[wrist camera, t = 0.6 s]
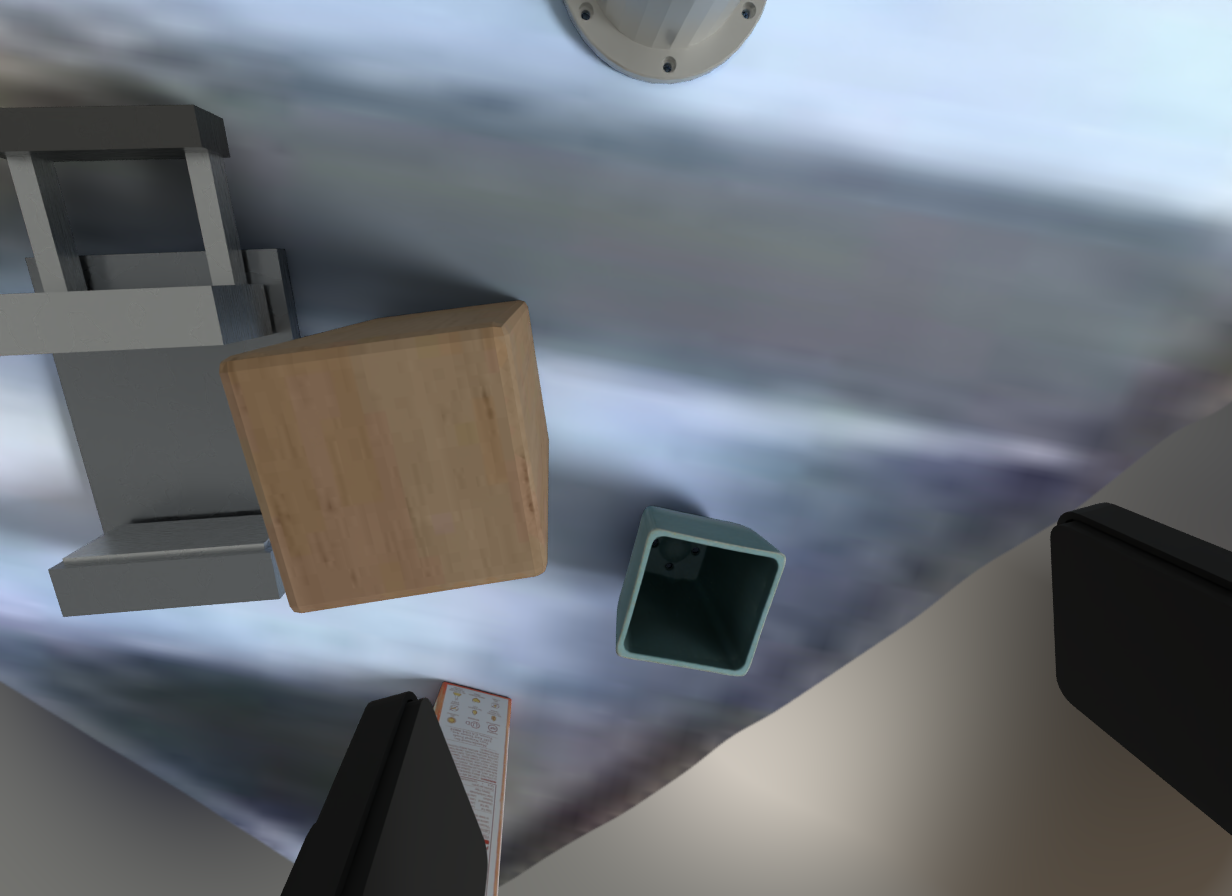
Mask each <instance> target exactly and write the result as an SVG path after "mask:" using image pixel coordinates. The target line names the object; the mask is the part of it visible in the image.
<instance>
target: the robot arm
mask: <svg viewBox="0 0 1232 896" xmlns="http://www.w3.org/2000/svg"><path fill="white" fill-rule="evenodd" d="M563 1H564V3H565V6H566V8H567V11H568V13H569V16H570V18H571V21H572V22H573V24H574V26H575V27H576V29H577V31H578V32H579V34H580V35H581V37H582V39H583V40H584V41H585V42H586V44H587V45H588V46H589V47H590V48H591V49H592V50H593V51H594V53H595V54H596V55H597V56H598V57H599V58H601V59H602V60H603V61H605V62H606V63H607V64H608V65H610V66H611V67H612V68H614V69H615V70H617V71H619V72H621V73H623V74H625V75H627V76H629V77H631V78H634V79H638V80H641V81H645V82H649V83H658V84H674V83H680V82H686V81H691V80H693V79H696V78H698V77H701V76H703V75H706V74H708V73H710V72H711V71H713V70H714V69H716V68H717V67H719V66H720V65H722V64H723V63H725V62H726V61H727V60H728V59H729V58H730V57H731V56H732V55H733V54H734V53H735V52H736V51H737V50H738V49H739V48H740V47H741V46H742V44H743V43H744V42H745V40H746V39H747V38H748V36H749V35H750V34H751V33H752V31H753V29H754V27H755V26H756V24H757V22H758V21H759V19H760V17H761V15H762V13H763V10H764V7H765V4H766V1H767V0H563ZM742 12H745V13H747V15H748V19H746V18H744V17H743V15H742ZM583 13H587V14H588V15H589V17H590V18H589V20H584V19H582V17H581V15H582V14H583ZM664 65H668V66H669V67H670V69H671V70H670V72H668V73H667V72H665V71H664V70H663V66H664ZM1050 538H1051V539H1050V541H1051V564H1052V588H1053V610H1054V635H1055V656H1056V677H1057V682H1058V685H1059V688H1060V689H1061V691H1062V693H1063V695H1064V696H1065V697H1066V699H1067V700H1068V701H1069V702H1070V703H1071V704H1072V705H1073V706H1074V707H1076V708H1077V709H1078V710H1079V711H1081V712H1082V713H1083V714H1084V715H1085V716H1087V717H1088V718H1089V719H1090V720H1092V721H1093V722H1094V723H1095V724H1096V725H1098V726H1099V727H1100V728H1101V729H1102V730H1104V731H1105V732H1106V733H1107V734H1108V735H1110V736H1111V737H1112V738H1113V739H1115V740H1116V741H1117V742H1118V743H1120V744H1121V745H1122V746H1123V747H1125V748H1126V749H1127V750H1128V751H1129V752H1130V753H1132V754H1133V755H1134V756H1135V757H1137V758H1138V759H1139V760H1140V761H1142V762H1143V763H1144V764H1145V765H1146V766H1148V767H1149V768H1150V769H1151V770H1152V771H1154V772H1155V773H1156V774H1157V775H1159V776H1160V777H1161V778H1162V779H1163V780H1165V781H1166V782H1167V783H1168V784H1170V785H1171V786H1172V787H1173V788H1175V789H1176V790H1177V791H1178V792H1179V793H1180V794H1182V795H1183V796H1184V797H1185V798H1187V799H1188V800H1189V801H1190V802H1191V803H1193V804H1194V805H1195V806H1196V807H1198V808H1199V809H1200V810H1201V811H1202V812H1204V813H1205V814H1206V815H1208V816H1209V817H1210V818H1211V819H1212V820H1214V821H1215V822H1216V823H1217V824H1218V825H1220V826H1221V827H1222V828H1223V829H1224V830H1226V831H1227V832H1228V833H1230V834H1231V835H1232V552H1231V551H1228V550H1226V549H1223V548H1221V547H1219V546H1216V545H1214V544H1211V543H1208V542H1206V541H1204V540H1201V539H1199V538H1196V537H1194V536H1191V535H1189V534H1186V533H1184V532H1181V531H1179V530H1176V529H1174V528H1171V527H1169V526H1166V525H1164V524H1161V523H1159V522H1157V521H1154V520H1151V519H1149V518H1147V517H1144V516H1141V515H1139V514H1137V513H1134V512H1132V511H1129V510H1127V509H1124V508H1122V507H1119V506H1117V505H1114V504H1110V503H1099V504H1095V505H1092V506H1088V507H1084V508H1080V509H1077V510H1073V511H1069V512H1066V513H1064V514H1063V515H1061V516H1060V518H1059V520H1058V522H1057V526H1055V527H1054V528H1053V529H1052V531H1051V536H1050ZM487 870H488V857H487V849H486V844H485V840H484V837H483V835H482V832H481V829H480V827H479V824H478V822H477V819H476V817H475V814H474V811H473V809H472V806H471V804H470V801H469V799H468V796H467V794H466V791H465V788H464V786H463V783H462V781H461V778H460V776H459V773H458V770H457V768H456V765H455V763H454V760H453V758H452V755H451V753H450V750H449V747H448V745H447V742H446V740H445V737H444V735H443V732H442V729H441V727H440V724H439V722H438V719H437V717H436V714H435V711H434V709H433V706H432V704H431V702H430V701H429V700H428V699H427V698H422V699H419V700H418V699H417V697H416V696H415V694H414V693H413V692H410V691H408V692H404V693H401V694H397V695H393V696H390V697H386V698H382V699H379V700H375V701H372V702H370V703H368V705H367V707H366V708H365V710H364V713H363V715H362V717H361V720H360V722H359V724H358V727H357V729H356V731H355V734H354V736H353V738H352V741H351V743H350V745H349V748H348V750H347V752H346V755H345V757H344V759H343V762H342V764H341V766H340V769H339V771H338V773H337V776H336V778H335V780H334V783H333V785H332V787H331V790H330V792H329V794H328V797H327V799H326V801H325V804H324V806H323V808H322V811H321V813H320V815H319V818H318V820H317V822H316V823H315V824H314V825H313V826H312V828H311V829H310V831H309V833H308V834H307V836H306V838H305V841H304V843H303V845H302V847H301V850H300V852H299V854H298V857H297V859H296V861H295V863H294V866H293V868H292V870H291V873H290V875H289V877H288V880H287V882H286V884H285V887H284V889H283V891H282V893H281V896H485V889H486V880H487Z"/></svg>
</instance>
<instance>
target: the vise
mask: <svg viewBox="0 0 1232 896" xmlns="http://www.w3.org/2000/svg"><path fill="white" fill-rule="evenodd" d="M241 253H242V258H243V263H244V268H245V273H246V278H247V283H248V284H263V285H264V290H265V295H266V301H267V306H268V311H269V316H270V322H271V327H272V332H273V334H272V335H267V336H263V337H258V338H254V339H249V340H244V341H240V342H235V343H230V344H226V345H213V346H192V347H172V348H151V349H131V350H110V351H90V352H69V353H53V357H54V360H55V364H56V367H57V371H58V374H59V378H60V381H61V385H62V388H63V392H64V395H65V399H66V402H67V406H68V409H69V413H70V416H71V420H72V423H73V427H74V430H75V434H76V437H77V441H78V444H79V448H80V451H81V455H82V458H83V462H84V465H85V469H86V472H87V476H88V479H89V483H90V486H91V489H92V493H93V496H94V500H95V503H96V507H97V510H98V514H99V517H100V521H101V524H102V528H103V531H104V535H102V536H100V537H99V538H97V539H95V540H93V541H92V542H90V543H88V544H87V545H85V546H83V547H81V548H80V549H78V550H76V551H75V552H73V553H71V554H69V555H68V556H66V557H64V558H63V561H62V562H60V563H59V564H57V565H55V566H54V567H52V568H50V569H48V571H49V574H50V577H51V580H52V583H53V586H54V590H55V593H56V596H57V599H58V602H59V605H60V608H61V611H62V615H63V617H68V616H80V615H92V614H104V613H116V612H128V611H140V610H153V609H165V608H177V607H189V606H201V605H213V604H225V603H237V602H249V601H261V600H273V599H280V598H281V597H282V596H283V595H284V593H285V589H284V586H283V582H282V579H281V576H280V572H279V569H278V566H277V562H276V559H275V556H274V552H273V549H272V546H271V543H270V539H269V536H268V533H267V529H266V526H265V523H264V519H263V516H262V513H261V510H260V506H259V503H258V500H257V496H256V493H255V490H254V486H253V483H252V480H251V476H250V473H249V470H248V467H247V463H246V460H245V457H244V453H243V450H242V447H241V443H240V440H239V437H238V434H237V430H236V427H235V424H234V420H233V417H232V414H231V410H230V407H229V404H228V400H227V397H226V394H225V391H224V387H223V384H222V381H221V377H220V374H219V367H220V363H221V361H223V360H225V359H226V358H228V357H230V356H232V355H236V354H240V353H244V352H248V351H252V350H256V349H259V348H263V347H267V346H271V345H275V344H279V343H283V342H287V341H291V340H295V339H299V338H300V333H299V327H298V322H297V316H296V310H295V305H294V299H293V293H292V288H291V282H290V277H289V271H288V265H287V260H286V254H285V249H253V250H241ZM25 259H26V263H27V266H28V270H29V273H30V277H31V280H32V284H33V287H34V291H35V293H45V292H44V289H43V285H42V282H41V278H40V274H39V271H38V267H37V264H36V260H35V257H33V258H25ZM79 260H80V263H81V267H82V271H83V275H84V279H85V282H86V286H87V290H88V291H94V290H118V289H143V288H167V287H191V286H213V284H212V279H211V275H210V270H209V265H208V260H207V256H206V251H198V252H170V253H143V254H115V255H88V256H79Z"/></svg>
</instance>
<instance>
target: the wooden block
mask: <svg viewBox="0 0 1232 896" xmlns="http://www.w3.org/2000/svg"><path fill="white" fill-rule="evenodd" d="M219 374H220V377H221V381H222V384H223V387H224V391H225V394H226V397H227V400H228V404H229V407H230V410H231V414H232V417H233V420H234V424H235V427H236V430H237V434H238V437H239V440H240V443H241V447H242V450H243V453H244V457H245V460H246V463H247V467H248V470H249V473H250V476H251V480H252V483H253V486H254V490H255V493H256V496H257V500H258V503H259V506H260V510H261V513H262V516H263V519H264V523H265V526H266V529H267V533H268V536H269V539H270V543H271V546H272V549H273V552H274V556H275V559H276V562H277V566H278V569H279V572H280V576H281V579H282V582H283V586H284V589H285V592H286V595H287V599H288V602H289V605H290V607H291V608H292V610H293V611H294V612H298V613H305V612H311V611H318V610H324V609H331V608H337V607H343V606H350V605H356V604H362V603H369V602H375V601H382V600H388V599H394V598H401V597H407V596H413V595H420V594H426V593H432V592H439V591H445V590H452V589H458V588H464V587H471V586H477V585H483V584H490V583H496V582H502V581H509V580H515V579H522V578H528V577H534V576H538V575H540V574H542V573H543V572H544V571H545V569H546V565H547V550H548V458H549V438H548V432H547V426H546V419H545V413H544V407H543V400H542V394H541V387H540V381H539V375H538V368H537V362H536V356H535V349H534V343H533V337H532V330H531V324H530V317H529V311H528V306H527V305H526V303H525V302H524V301H520V300H516V301H508V302H500V303H493V304H485V305H477V306H469V307H461V308H454V309H446V310H438V311H430V312H423V313H415V314H407V315H399V316H391V317H384V318H377V319H373V320H369V321H365V322H361V323H357V324H353V325H349V326H346V327H342V328H338V329H334V330H330V331H326V332H322V333H318V334H314V335H310V336H306V337H302V338H299V339H295V340H291V341H287V342H283V343H279V344H275V345H271V346H267V347H263V348H259V349H256V350H252V351H248V352H244V353H240V354H236V355H232V356H230V357H228V358H226V359H225V360H223V361H221V363H220V367H219Z"/></svg>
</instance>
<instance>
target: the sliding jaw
mask: <svg viewBox="0 0 1232 896" xmlns="http://www.w3.org/2000/svg"><path fill="white" fill-rule="evenodd" d="M0 158H4V159H7V161H8V165H9V168H10V172H11V175H12V179H13V182H14V186H15V190H16V193H17V197H18V200H19V204H20V207H21V211H22V214H23V218H24V221H25V225H26V228H27V232H28V236H29V239H30V243H31V246H32V250H33V253H34V257H35V260H36V264H37V267H38V271H39V274H40V278H41V282H42V285H43V289H44V292H45V293H20V294H0V356H8V355H28V354H49V353H69V352H90V351H110V350H131V349H151V348H172V347H192V346H213V345H226V344H230V343H235V342H240V341H244V340H249V339H254V338H258V337H263V336H267V335H272V334H273V332H272V327H271V322H270V316H269V311H268V306H267V301H266V295H265V290H264V285H263V284H248V283H247V278H246V273H245V268H244V263H243V258H242V253H241V248H240V242H239V237H238V232H237V227H236V222H235V217H234V212H233V207H232V201H231V196H230V191H229V186H228V181H227V176H226V171H225V166H224V160H223V158H230V153H229V148H228V143H227V138H226V132H225V127H224V122H223V119H222V118H220V117H218V116H216V115H214V114H212V113H210V112H208V111H206V110H203V109H201V108H199V107H197V106H195V105H150V106H91V107H32V108H0ZM147 159H186V160H187V165H188V170H189V175H190V179H191V184H192V189H193V194H194V199H195V203H196V208H197V213H198V218H199V222H200V227H201V232H202V237H203V241H204V246H205V251H206V256H207V260H208V265H209V270H210V275H211V279H212V284H213V286H191V287H167V288H143V289H118V290H94V291H88V290H87V286H86V282H85V279H84V275H83V271H82V267H81V263H80V260H79V256H78V252H77V248H76V244H75V241H74V237H73V233H72V229H71V226H70V222H69V218H68V214H67V210H66V207H65V203H64V199H63V195H62V191H61V188H60V184H59V180H58V176H57V173H56V169H55V165H54V162H64V161H106V160H147Z"/></svg>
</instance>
